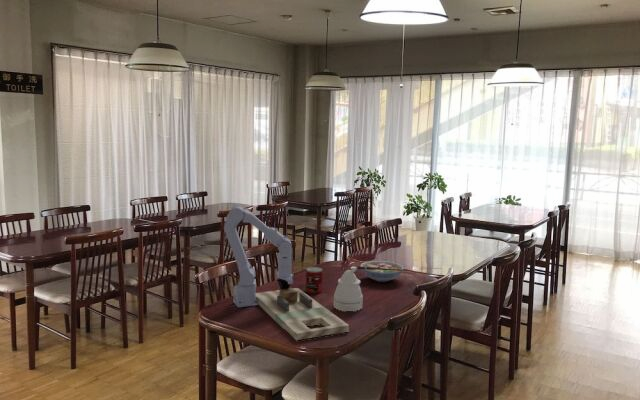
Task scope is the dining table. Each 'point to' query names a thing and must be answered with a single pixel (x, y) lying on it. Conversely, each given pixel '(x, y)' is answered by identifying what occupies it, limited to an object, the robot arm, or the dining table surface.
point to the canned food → (314, 280)
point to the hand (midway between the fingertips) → (284, 295)
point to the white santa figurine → (348, 292)
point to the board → (300, 315)
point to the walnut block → (288, 294)
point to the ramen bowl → (381, 270)
